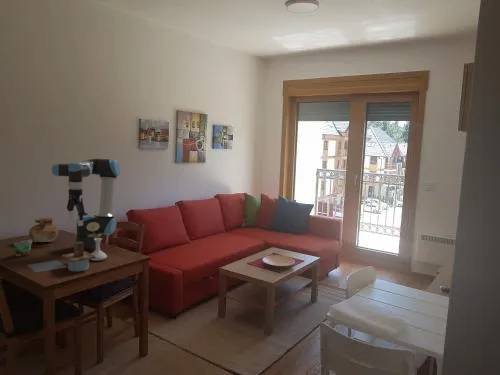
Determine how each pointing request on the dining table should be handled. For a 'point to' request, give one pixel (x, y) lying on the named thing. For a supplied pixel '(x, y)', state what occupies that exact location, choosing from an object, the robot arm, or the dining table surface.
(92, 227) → the flower in vase
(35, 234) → the clay pot
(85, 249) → the robot arm
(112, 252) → the dining table surface
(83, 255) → the walnut lid
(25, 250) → the food container
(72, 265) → the ceramic bowl
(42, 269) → the rubber mat
